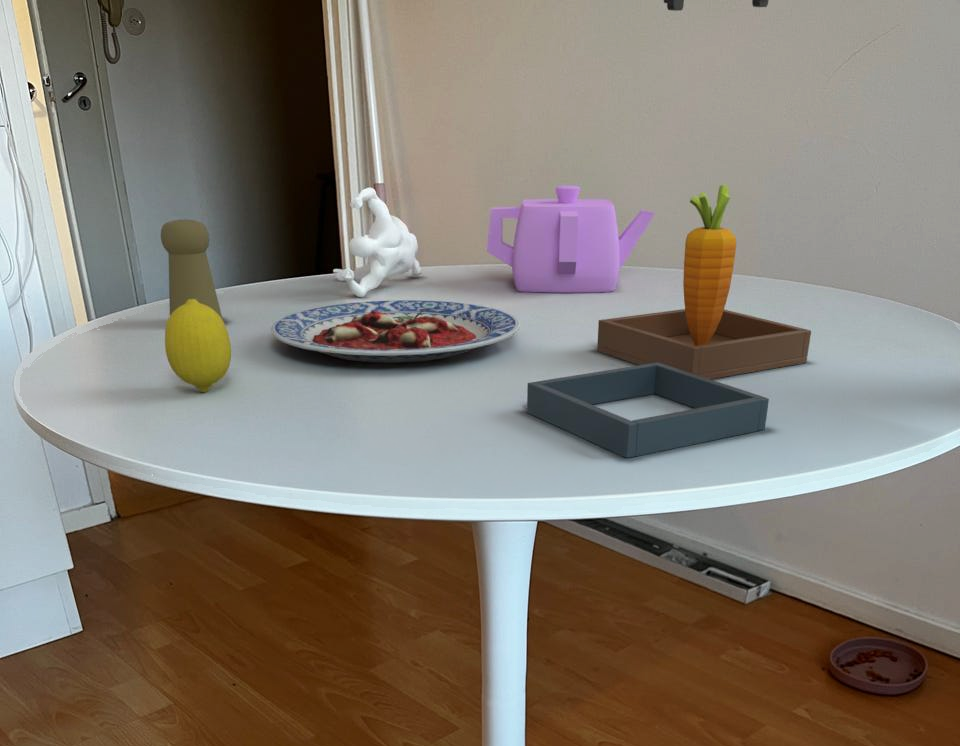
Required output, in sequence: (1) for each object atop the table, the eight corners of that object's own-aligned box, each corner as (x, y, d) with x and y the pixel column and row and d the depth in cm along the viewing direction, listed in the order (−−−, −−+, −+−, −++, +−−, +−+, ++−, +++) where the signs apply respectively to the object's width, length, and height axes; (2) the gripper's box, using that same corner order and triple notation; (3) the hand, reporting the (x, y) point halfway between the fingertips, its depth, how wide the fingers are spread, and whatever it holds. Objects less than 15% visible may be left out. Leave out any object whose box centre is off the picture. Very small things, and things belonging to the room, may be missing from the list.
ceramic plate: (453, 387, 91) (452, 353, 89) (221, 359, 100) (217, 329, 99) (556, 331, 111) (556, 303, 110) (355, 312, 121) (353, 286, 119)
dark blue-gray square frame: (655, 390, 89) (658, 362, 88) (765, 429, 79) (769, 398, 78) (526, 412, 83) (527, 382, 82) (626, 458, 73) (629, 424, 72)
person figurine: (339, 194, 138) (353, 179, 121) (429, 214, 141) (455, 201, 125) (326, 293, 141) (339, 291, 125) (415, 310, 145) (438, 310, 128)
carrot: (688, 357, 98) (704, 188, 90) (666, 346, 102) (680, 184, 94) (734, 354, 99) (753, 187, 91) (710, 343, 103) (727, 183, 96)
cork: (185, 330, 112) (170, 225, 107) (160, 322, 116) (144, 220, 111) (233, 323, 116) (221, 220, 110) (207, 315, 120) (194, 215, 114)
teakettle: (476, 285, 137) (476, 185, 131) (560, 270, 147) (563, 178, 141) (570, 301, 126) (574, 194, 120) (653, 285, 137) (661, 185, 131)
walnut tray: (706, 335, 109) (709, 305, 108) (806, 362, 98) (811, 330, 96) (596, 351, 103) (598, 319, 101) (691, 382, 92) (694, 348, 90)
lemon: (220, 380, 93) (209, 290, 89) (246, 393, 89) (235, 300, 85) (162, 390, 90) (148, 297, 86) (186, 404, 86) (172, 307, 82)
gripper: (643, -209, 88) (630, 10, 96) (803, -236, 81) (775, 3, 88) (680, -193, 93) (665, 13, 101) (833, -216, 86) (804, 7, 94)
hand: (716, 8), depth 95 cm, fingers open, 8 cm apart
